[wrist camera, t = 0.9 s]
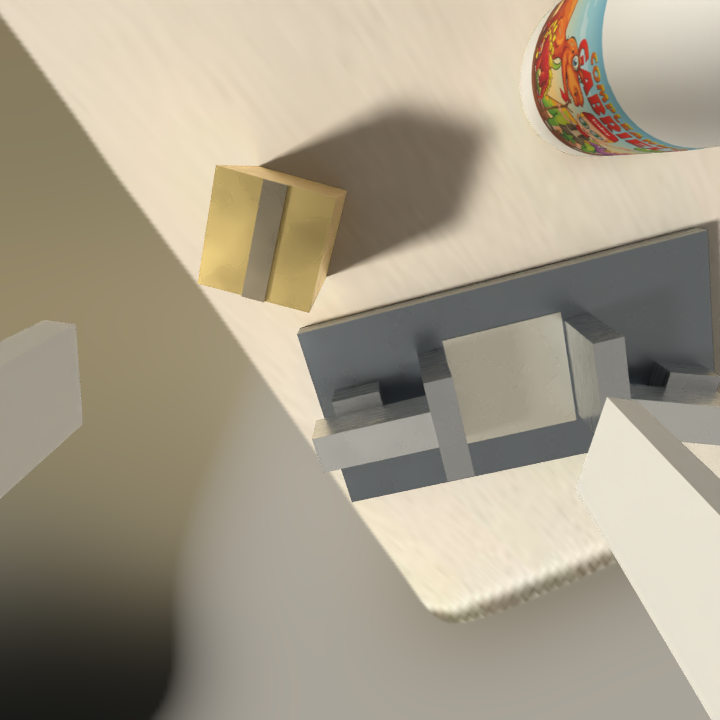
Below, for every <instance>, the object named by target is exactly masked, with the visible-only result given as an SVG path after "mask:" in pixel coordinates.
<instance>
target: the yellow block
mask: <svg viewBox="0 0 720 720" xmlns="http://www.w3.org/2000/svg"><path fill="white" fill-rule="evenodd" d="M346 193H347V191H346V190H343V189H339V188H336V187H332V186H328V185H325V184H321V183H318V182H314V181H310V180H307V179H303V178H300V177H296V176H292V175H289V174H285V173H282V172H278V171H274V170H271V169H267V168H264V167H260V166H227V165H216V169H215V175H214V182H213V188H212V195H211V201H210V208H209V214H208V221H207V227H206V234H205V240H204V247H203V253H202V259H201V266H200V272H199V279H198V284H202V285H205V286H209V287H213V288H217V289H221V290H224V291H228V292H232V293H236V294H240V295H242V297H246V298H250V299H254V300H257V301H261V302H265V301H266V302H270V303H274V304H278V305H282V306H285V307H289V308H293V309H297V310H301V311H304V312H308V313H309V312H310V310H311V308H312V306H313V304H314V301H315V299H316V297H317V295H318V293H319V291H320V289H321V287H322V285H323V283H324V281H325V279H326V276H327V272H328V267H329V263H330V259H331V255H332V251H333V247H334V243H335V238H336V234H337V230H338V226H339V222H340V218H341V214H342V210H343V205H344V201H345V197H346Z"/></svg>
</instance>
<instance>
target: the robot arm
mask: <svg viewBox="0 0 720 720" xmlns="http://www.w3.org/2000/svg"><path fill="white" fill-rule="evenodd" d="M82 424H83V419H82V405H81V391H80V377H79V364H78V350H77V335H76V324H69V323H62V322H55V321H48V320H43V321H41V322H39V323H37V324H35V325H33V326H31V327H29V328H27V329H25V330H23V331H21V332H19V333H17V334H15V335H13V336H11V337H9V338H6V339H5V340H2V341H0V498H1V497H2V496H4V495H5V494H6V493H7V492H8V491H9V490H10V489H11V488H12V487H13V486H15V485H16V484H17V483H18V482H19V481H20V480H21V479H22V478H23V477H25V476H26V475H27V474H28V473H29V472H30V471H31V470H32V469H33V468H35V467H36V466H37V465H38V464H39V463H40V462H41V461H42V460H43V459H45V458H46V456H48V455H49V454H50V453H51V452H52V451H53V450H55V449H56V448H57V447H58V446H59V445H60V444H61V443H62V442H63V441H65V440H66V439H67V438H68V437H69V436H70V435H71V434H72V433H73V432H74V431H75V430H77V429H78V428H79V427H80V426H81V425H82ZM575 490H576V492H577V493H578V495H579V497H580V498H581V500H582V502H583V503H584V505H585V507H586V508H587V510H588V512H589V514H590V515H591V517H592V519H593V520H594V522H595V524H596V525H597V527H598V529H599V530H600V532H601V534H602V536H603V537H604V539H605V541H606V542H607V544H608V546H609V547H610V549H611V551H612V552H613V554H614V556H615V557H616V559H617V561H618V562H619V564H620V566H621V568H622V569H623V571H624V573H625V574H626V576H627V578H628V579H629V581H630V583H631V584H632V586H633V588H634V590H635V591H636V593H637V595H638V596H639V598H640V600H641V601H642V603H643V605H644V606H645V608H646V610H647V612H648V613H649V615H650V617H651V618H652V620H653V622H654V623H655V625H656V627H657V628H658V630H659V632H660V633H661V635H662V637H663V638H664V640H665V642H666V644H667V645H668V647H669V649H670V650H671V652H672V654H673V655H674V657H675V659H676V661H677V662H678V664H679V666H680V667H681V669H682V671H683V672H684V674H685V676H686V677H687V679H688V681H689V683H690V684H691V686H692V688H693V689H694V691H695V693H696V694H697V696H698V698H699V699H700V701H701V703H702V705H703V706H704V708H705V710H706V711H707V713H708V715H709V716H710V718H711V719H712V720H720V479H719V478H718V477H717V476H716V475H715V474H714V473H713V472H712V471H711V470H710V469H709V468H708V467H707V466H706V465H705V464H704V463H702V462H701V461H700V460H699V459H698V458H697V457H696V456H695V455H694V454H693V453H692V452H691V451H690V450H689V449H688V448H687V447H686V446H684V445H683V444H682V443H681V442H680V441H679V440H678V439H677V438H676V437H675V436H674V435H673V434H672V433H671V432H670V431H669V430H667V429H666V428H665V427H664V426H663V425H662V424H661V423H660V422H659V421H658V420H657V419H656V418H655V417H654V416H653V415H652V414H651V413H649V412H648V411H647V410H646V409H645V408H644V407H643V406H642V405H641V404H640V403H639V402H638V401H633V400H625V399H618V398H611V397H607V399H606V401H605V404H604V407H603V410H602V413H601V416H600V419H599V422H598V425H597V428H596V431H595V434H594V437H593V439H592V442H591V445H590V448H589V451H588V454H587V457H586V460H585V463H584V466H583V469H582V472H581V475H580V478H579V480H578V483H577V486H576V489H575Z"/></svg>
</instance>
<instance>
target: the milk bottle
mask: <svg viewBox="0 0 720 720" xmlns="http://www.w3.org/2000/svg"><path fill="white" fill-rule="evenodd" d="M520 96H521V101H522V106H523V109H524V112H525V114H526V117H527V119H528V121H529V123H530V125H531V126H532V128H533V129H534V131H535V132H536V133H537V134H538V135H539V136H540V138H542V139H543V140H544V141H545V142H546V143H547V144H549V145H550V146H552V147H554V148H555V149H557V150H559V151H562V152H564V153H568V154H572V155H577V156H612V155H630V154H647V153H661V152H674V151H687V150H695V149H703V148H710V147H718V146H720V0H559V1H558V2H557V3H556V4H555V5H554V6H553V7H552V8H551V9H550V11H549V12H548V13H547V14H546V15H545V16H544V17H543V19H542V20H541V21H540V23H539V24H538V26H537V27H536V29H535V30H534V32H533V34H532V36H531V38H530V40H529V42H528V44H527V47H526V50H525V52H524V56H523V60H522V64H521V70H520Z"/></svg>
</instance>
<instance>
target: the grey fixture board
mask: <svg viewBox="0 0 720 720" xmlns="http://www.w3.org/2000/svg"><path fill="white" fill-rule="evenodd" d="M297 335H298V338H299V341H300V344H301V348H302V351H303V354H304V357H305V360H306V363H307V366H308V369H309V372H310V375H311V378H312V381H313V384H314V387H315V390H316V393H317V396H318V400H319V403H320V406H321V409H322V412H323V415H324V418H325V419H322V420H317V421H316V425H315V429H314V433H313V437H312V440H313V443H314V446H315V449H316V452H317V455H318V458H319V461H320V464H321V467H322V469H323V472H324V473H325V472H329V471H334V470H338V469H341V470H342V473H343V476H344V479H345V482H346V485H347V488H348V491H349V494H350V497H351V500H352V502H355V501H359V500H364V499H369V498H374V497H379V496H383V495H388V494H393V493H398V492H402V491H407V490H412V489H417V488H421V487H426V486H431V485H436V484H440V483H445V482H450V481H455V480H459V479H464V478H469V477H474V476H479V475H483V474H488V473H493V472H498V471H502V470H507V469H512V468H517V467H521V466H526V465H531V464H536V463H540V462H545V461H550V460H555V459H559V458H564V457H569V456H574V455H579V454H583V453H588V451H589V448H590V445H591V442H592V439H593V437H594V434H595V431H596V428H597V425H598V422H599V419H600V416H601V413H602V410H603V407H604V404H605V401H606V399H607V397H611V398H618V399H625V400H633V401H638V402H639V403H640V404H641V405H642V406H643V407H644V408H645V409H646V410H647V411H648V412H649V413H651V414H652V415H653V416H654V417H655V418H656V419H657V420H658V421H659V422H660V423H661V424H662V425H663V426H664V427H665V428H666V429H667V430H669V431H670V432H671V433H672V434H673V435H674V436H675V437H676V438H677V439H678V440H679V441H680V442H689V443H700V444H711V445H720V392H716V391H717V388H718V385H719V383H720V376H719V375H718V374H716V373H714V360H713V337H712V315H711V293H710V271H709V249H708V230H705V229H700V228H691V229H687V230H683V231H679V232H676V233H672V234H668V235H664V236H660V237H656V238H652V239H648V240H644V241H640V242H636V243H632V244H629V245H625V246H621V247H617V248H613V249H609V250H605V251H601V252H597V253H593V254H589V255H585V256H582V257H578V258H574V259H570V260H566V261H562V262H558V263H554V264H550V265H546V266H542V267H539V268H535V269H531V270H527V271H523V272H519V273H515V274H511V275H507V276H503V277H499V278H495V279H492V280H488V281H484V282H480V283H476V284H472V285H468V286H464V287H460V288H456V289H452V290H448V291H445V292H441V293H437V294H433V295H429V296H425V297H421V298H417V299H413V300H409V301H405V302H401V303H398V304H394V305H390V306H386V307H382V308H378V309H374V310H370V311H366V312H362V313H358V314H355V315H351V316H347V317H343V318H339V319H335V320H331V321H327V322H323V323H319V324H315V325H311V326H308V327H304V328H300V330H299V332H298V334H297Z"/></svg>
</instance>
